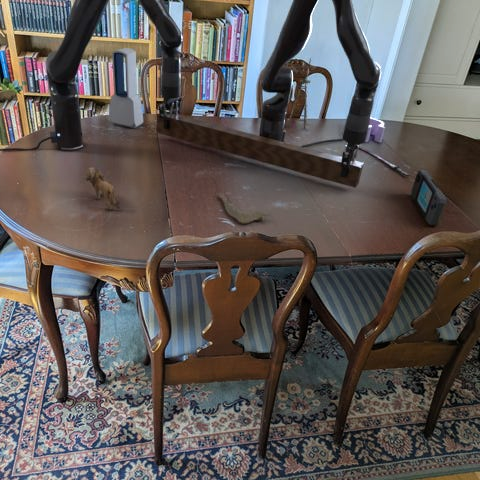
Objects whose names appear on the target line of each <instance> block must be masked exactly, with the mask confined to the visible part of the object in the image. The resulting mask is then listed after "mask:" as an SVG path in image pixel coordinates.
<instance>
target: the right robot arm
mask: <svg viewBox="0 0 480 480" xmlns="http://www.w3.org/2000/svg"><path fill="white" fill-rule="evenodd" d="M331 1H332V4H333V8H334V9H333V10H334V16H335V29H336V35H337V38H338V41H339V44H340V45H341V48H342V50H343V52H344V54H345V56H346V57H347V60H348V62H349V66H350V69H351V72H352V75H353V77H354V80H355V88H354V93H353V95H352V97H351V101H350V104H349V109H348V113H347V116H346V119H345V124H344V128H343V132H342V137H341V138H333V139H325V140H320V141H315V142H311V143H308V144H307V143H306V144H303V145H299V146H300V147H304V148H307V147H310V146H314V145H318V144H324V143H330V142H340V141H344V142H346V145H345V146H344V149H343V152H342V155H341V157H342V162H341V167H342V170H341V175H340V176H341V177H344V178H346V177H347V175H348V171H349V167H350V164H351V162H352V161H353V160H354V161H355V159H356V158H357V155H358V151H359V150H360V149H359V148H360V145H363V144H364V143H366V142H365V140H366V136H367V132H368V128H369V124H370V117H372V112H373V108H374V104H375V97H376V93H377V90H378V87H379V83H380V81H381V76H382V69H381V66H380V64H378V63H377V62H375V61H374V59H373V56H372V55H371V51H370V46H369V42H368V40H367V38H366V36H365V33H364V31H363V29H362V27H361V25H360V22H359V20H358V17H357V14H356V12H355V7H354V4H353V1H352V0H331ZM318 2H319V0H292V2H291V5H290V7H289V10H288V12H287V15H286V17H285V20H284V22H283V25H282V27H281V29H280V32H279V35H278V38H277V41H276V43H275V45H274V48H273V50H272V52H271V54H270V56H269V58H268V60H267V61H266V64H265V66H264V67H263V70H262V73H261V77H260V87H261V90H262V91H263V92H265V93H268V94H275V95H274V96H271V97H270V98H268V99H265V100H263V102H262V105H261V114H260V123H259V131H258V136H261V137H265V138H269V139H273V140H277V141H281V142H285V136H286V130H284V128H285V122H286V115H287V108H288V106H289V103H290V97H291V92H292V87H293V80H294V76H293V75H294V74H293V70H292V68H291V67H290V66H285V65H286V64H287V63H288V62H290V61H291V60H293V59H294V58H296V57H297V56H298V55H299V54H300V53H301V52H302V51H303V50H304V49H305V47H306V45H307V42H308V41H309V38H310V36H311V33H312V30H313V21H312V15H313V12H314V10H315V8H316V5H318ZM345 162H347V164H345Z"/></svg>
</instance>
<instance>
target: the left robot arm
mask: <svg viewBox="0 0 480 480" xmlns="http://www.w3.org/2000/svg"><path fill="white" fill-rule="evenodd" d="M137 1H138V3H139V4H140V6H141V8H142V10H143V11H144V13H145V15H146V16H147V18H148V19H149V21H150V22H151V23H152V25H153V26H154V27H155V29H156V30H157V32H158V35H159V36H160V37H159V38H160V50H161V72H160V73H161V74H160V95H161V97H163V99H162V103H161V104H160V103H158V105H157V109H158V113H159V115H160V119H163V120H164V129H169V128H170V120H169V119H170V115H171V114H176V115H181V113H182V106H183V98H182V97H181V95H182V73H181V71H182V70H181V69H182V59H181V56H180V47H181V45H182V44H183V41H184V40H183V39H184V37H183V36H184V35H183V33H182V31H181V29H180V28H179V26H178V24H177V23H176V21H175V20H174V19H173V17H172V16H171V14H170V13H169V10H168V7H167V6H166V4H165V2H164V1H163V0H137ZM109 2H110V0H74V1H73V4H72V6H71V9H70V12H69V16H68V20H67V24H66V29H65V33H64V36H63V39H62V41H61V43H60V45H59V46H58V49H57V50H53V51H51V52H50V53H49V54H48V55H47V57H46V59H45V70H46V77H47V83H48V90H49V95H50V101H51V102H50V103H51V110H52V116H53V127H54V128H53V129H54V130H53V131H49V135H50V136H48V137H46V138H43V139H41V140H40V141H39V142H38V144H37V146H34V147H32V148H21V147H19V148H18V147H9V148H7V147H6V148H0V152H5V151H7V152H8V151H22V152H23V151H35V150H37V149H39V148H40V146H41V144H42V143H44V142H46V141H48V140H50V142H51V144H56V149H57V150H59V151H60V150H62V151H77V150H80V149H83V147H84V140H83V139H84V138H83V135H84V134H83V129H82V120H81V108H80V98H79V97H80V96H79V90H78V87H77V79H76V76H77V74H78V71H79V68H80V65H81V63H82V60H83V56H84V54H85V51H86V49H87V47H88V45H89V44H90V42H91V40H92V38H93V36H94V35H95V32H96V30H97V28H98V26H99V24H100V23H101V20H102V18H103V16H104V14H105V12H106V9H107V8H108V7H107V6H108V4H109ZM166 113H167V114H168V115H166ZM162 114H163V115H162Z"/></svg>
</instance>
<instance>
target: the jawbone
mask: <svg viewBox="0 0 480 480" xmlns="http://www.w3.org/2000/svg"><path fill="white" fill-rule="evenodd" d="M218 197H219V198H220V199H221V200H222V203H223V205H224V208H225V211H226V214H228V215H229V216H230V217H232V218H233V219H234V220H237V222H238V223H240V224H243V225H244V224H249V223H251V222H254V221H256V220H257V221H259V222H262V221H263V220H264V219H263V218H264V216H267V217H268V216H270V215H271V214H270V213H269V212H267V211H261V210H260V211H255V212H253V213H243V212H242V211H241V210H239V209H238V208H237V207H236V206H235V205H234V203H233V202H229V201H228V199H227V197H226V196H225V194H224V193H218Z"/></svg>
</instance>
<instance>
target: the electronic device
mask: <svg viewBox="0 0 480 480" xmlns="http://www.w3.org/2000/svg"><path fill="white" fill-rule="evenodd" d="M111 58H112V60H111V61H112V78H113V79H112V81H113V94H111V96H110V100H109V113H108V119H109V121H110V123H111V124H113V125H116V126H121V127H124V128H125V127H126V128H129V129H136V128H138V127H140V126H141V125H142V124H143V123H144V113H143V105H142V98H141V96H140V95H139V94H138V82H137V81H138V80H137V79H138V78H137V51H135V50H134V49H132V48H128V47H124V48H123V47H122V48H120V49H117V50H114V51H113V50H112V51H111ZM124 59H125V60H124ZM124 63H125V64H124Z"/></svg>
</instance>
